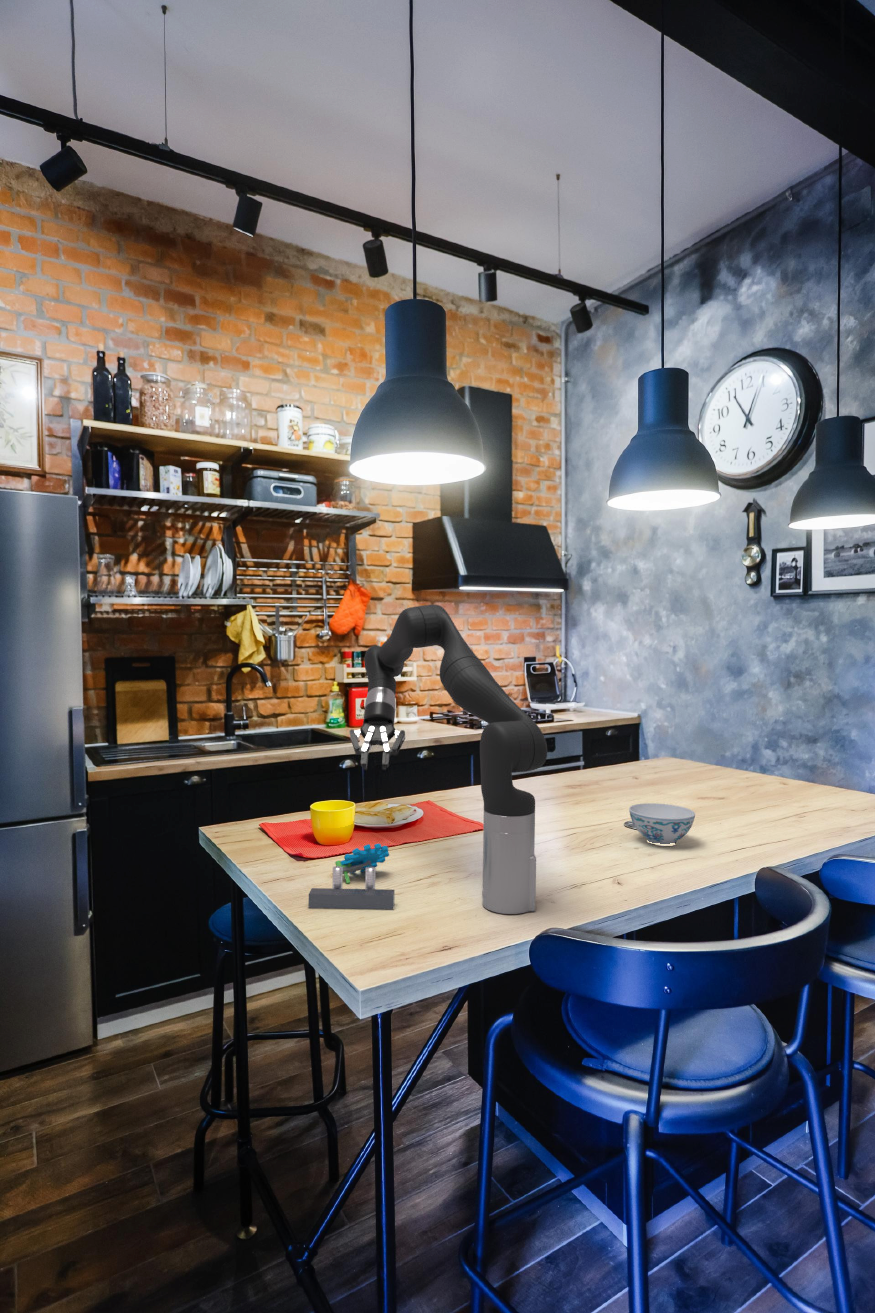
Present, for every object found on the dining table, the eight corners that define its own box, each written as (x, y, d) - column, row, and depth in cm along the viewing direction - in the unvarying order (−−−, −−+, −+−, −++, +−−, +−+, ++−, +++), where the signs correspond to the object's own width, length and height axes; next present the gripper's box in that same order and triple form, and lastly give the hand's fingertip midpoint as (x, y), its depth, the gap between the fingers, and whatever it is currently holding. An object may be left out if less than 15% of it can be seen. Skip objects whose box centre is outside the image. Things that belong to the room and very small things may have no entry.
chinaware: (615, 838, 174) (616, 806, 174) (661, 831, 181) (662, 801, 181) (660, 855, 161) (661, 821, 161) (708, 847, 168) (709, 814, 167)
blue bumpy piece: (384, 860, 150) (390, 836, 142) (393, 886, 146) (398, 863, 139) (332, 872, 146) (335, 848, 139) (339, 899, 142) (343, 876, 135)
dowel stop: (395, 899, 132) (395, 867, 131) (393, 909, 127) (393, 876, 127) (313, 898, 132) (313, 865, 132) (308, 908, 127) (308, 874, 127)
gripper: (349, 699, 174) (342, 757, 163) (408, 700, 174) (404, 758, 162) (352, 719, 180) (345, 776, 168) (409, 719, 180) (405, 777, 168)
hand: (374, 767), depth 165 cm, fingers open, 3 cm apart
